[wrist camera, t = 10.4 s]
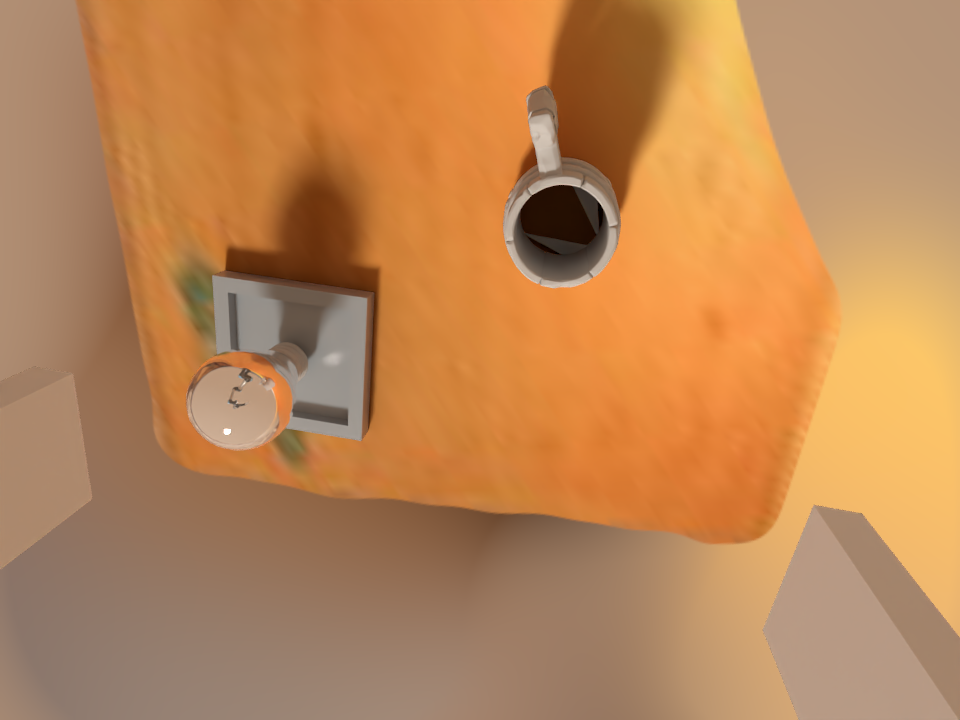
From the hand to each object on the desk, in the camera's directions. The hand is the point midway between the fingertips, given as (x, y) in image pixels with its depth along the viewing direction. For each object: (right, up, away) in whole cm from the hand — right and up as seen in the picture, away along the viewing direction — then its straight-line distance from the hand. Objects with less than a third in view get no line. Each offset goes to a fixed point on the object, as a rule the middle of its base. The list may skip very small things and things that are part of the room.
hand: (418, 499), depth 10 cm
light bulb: (-14, +3, +37) cm, 40 cm away
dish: (-14, +3, +38) cm, 41 cm away
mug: (+7, +15, +31) cm, 35 cm away
